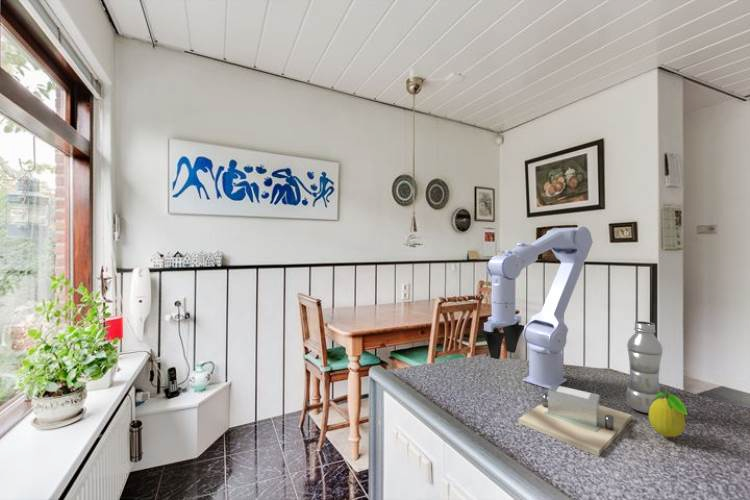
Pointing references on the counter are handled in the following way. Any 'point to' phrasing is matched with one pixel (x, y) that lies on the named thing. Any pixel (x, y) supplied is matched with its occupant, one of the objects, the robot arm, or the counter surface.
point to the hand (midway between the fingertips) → (503, 354)
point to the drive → (573, 404)
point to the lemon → (667, 415)
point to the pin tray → (578, 427)
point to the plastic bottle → (643, 367)
